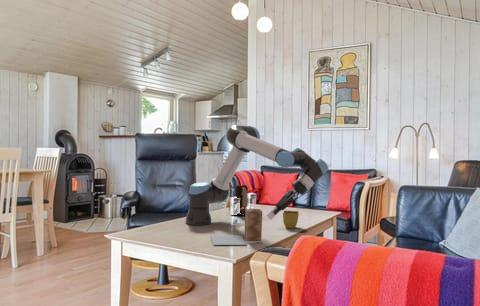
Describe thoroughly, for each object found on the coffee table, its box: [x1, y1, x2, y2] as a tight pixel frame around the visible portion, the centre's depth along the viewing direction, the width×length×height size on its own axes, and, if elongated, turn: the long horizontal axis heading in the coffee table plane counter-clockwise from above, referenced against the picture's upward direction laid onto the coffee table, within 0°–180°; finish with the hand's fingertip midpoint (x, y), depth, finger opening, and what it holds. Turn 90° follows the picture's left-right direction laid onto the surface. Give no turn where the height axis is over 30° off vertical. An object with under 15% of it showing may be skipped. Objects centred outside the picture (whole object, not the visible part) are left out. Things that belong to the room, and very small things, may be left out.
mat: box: [209, 234, 248, 246], centre depth 184 cm, size 16×18×1 cm
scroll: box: [235, 184, 249, 215], centre depth 258 cm, size 15×15×20 cm
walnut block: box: [243, 208, 263, 243], centre depth 186 cm, size 7×7×15 cm
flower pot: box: [282, 210, 300, 229], centre depth 221 cm, size 9×9×9 cm
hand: (268, 217), depth 187 cm, fingers closed
